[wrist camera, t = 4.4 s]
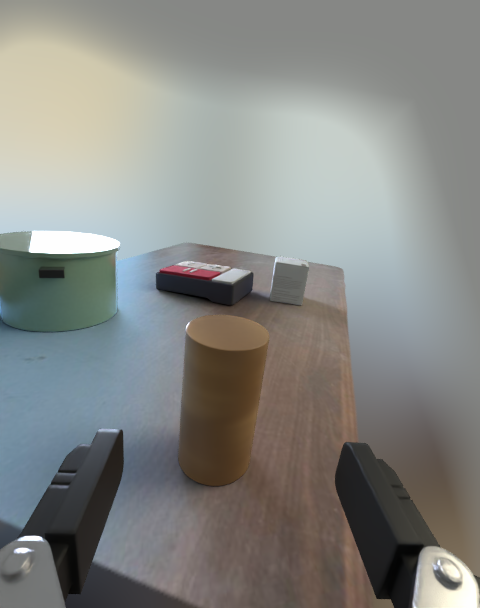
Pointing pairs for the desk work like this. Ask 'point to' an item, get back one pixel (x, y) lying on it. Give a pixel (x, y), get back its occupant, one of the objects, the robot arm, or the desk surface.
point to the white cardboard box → (289, 280)
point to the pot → (57, 280)
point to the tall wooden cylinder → (220, 396)
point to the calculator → (206, 281)
